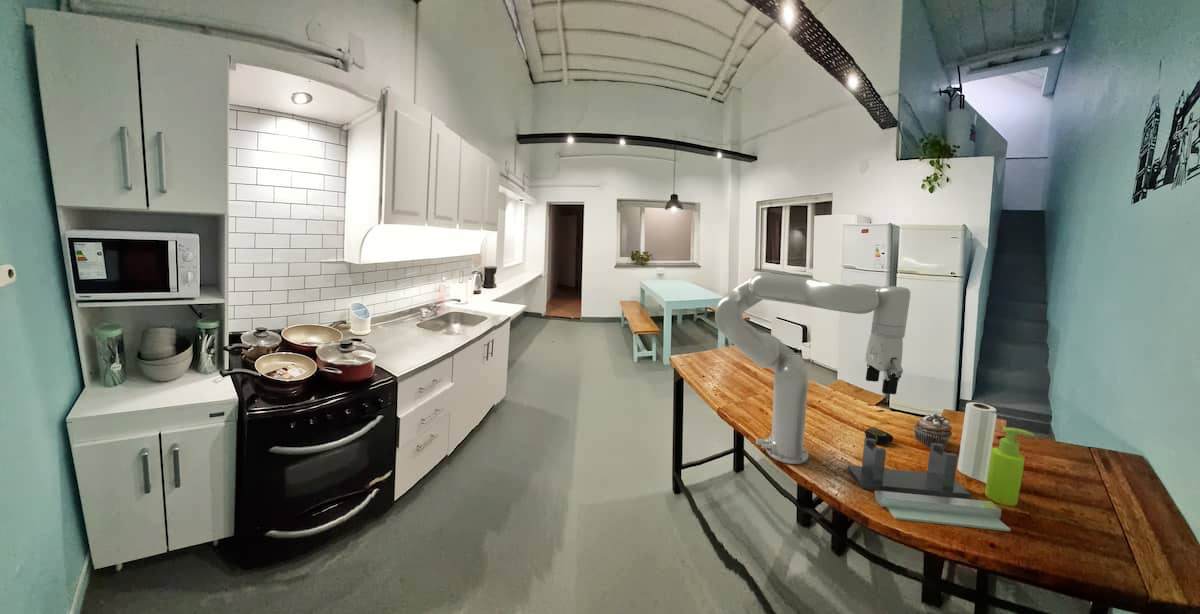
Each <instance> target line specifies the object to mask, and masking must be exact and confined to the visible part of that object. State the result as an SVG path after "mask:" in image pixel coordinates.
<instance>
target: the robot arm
mask: <svg viewBox="0 0 1200 614" xmlns="http://www.w3.org/2000/svg"><path fill="white" fill-rule="evenodd" d="M911 293H912V292H911V290H910V289H909V288H906V287H904V286H903V287H902V286H893V285H891V286H890V285H888V286H887V285H885V286H878V285H869V284H864V283H855V284H851V285H845V284H837V283H836V284H835V283H831V282H826V281H820V280H818V279H815V278H811V277H806V276H797V275H795V276H794V275H786V274H777V273H773V272H769V271H760V272H758V273H756V274H754V275H753V276H752V277H751V278H749V279H748V280H746V281H744V282H743V283H742V284H740V285H738V286H737V287H735V288H734V289H733V290H731V291H729V292H728V293H726V294H725V295H723V296H722V297H721V298H720V299H719V300H718V303H717V305H716V307H715V313H714V320H715V324H716V327H717V328H718V330H719V331H720V333H721V334H722V335H723V336H724V337H725V338H726V339H728V341H730V342H731V343H732V344H733V345H734V346H735V347H736V348H737V349H738V350H739V351H741V352H742V353H743V354H744V355H745V356H746V357H747V358H748V359H749V360H751V361H752V362H753V363H754V364H755V365H756V366H758V367H760V368H765V369H766V368H770V369H771V370H772V371H773V372H774V375H773V398H772V399H773V400H772V418H771V419H772V420H771V423H772V424H771V435H769V436H768V438H763V439H762V438H756V439H755V445H758V446H760V445H761V448H762V449H765V451H766V453H767V454H768V456H769V457H771V458H772V459H774V460H776V461H778V462H781V463H785V464H788V465H802V464H804V463H806V462H808V460H809V453H808V451H807V450H806V449H805V448H804V443H805V429H806V427H805V425H806V414H807V413H806V411H807V399H808V398H807V397H808V391H809V373H808V367H807V364H806V363H805V361H804V359H803V358H801V357H800V356H799V355H798V354H797V353H795V351H793V350H792V349H791V348H790V347H788V345H786V344H785V343H784V342H782V340H780V339H779V338H777V337H776V336H774V335H772V334H770V333H761V332H760V331H758V330H757V329H756V328H754V326H753V325H751V324H750V323H748V322H747V321H746V320H745V319H744V318H743V314H744V313H745V311H747V310H749V309H750V308H752V307H753V306H755V305H757V304H758V303H760V302H762V300H765V301H771V302H772V301H773V302H780V303H788V304H793V305H794V304H795V305H800V306H806V307H812V308H818V309H823V310H829V311H835V312H842V313H849V314H858V315H865V314H869V313H872V312H873V315H872V322H871V331H870V336H869V340H868V344H867V347H866V353H865V357H864V358H865V360H864V361H865V363H866V372H865V374H866V375H865V381H867V382H874V383H875V382H877V383H878V382H879V381H880V373H881V372H883V373H884V377H885V378H884V379H883V382H882V390H881V392H882V394H886V395H896V394H897V391H898V385H899V382H900V379H901V377H902V374H903V372H904V369H903V366H902V360H903V341H904V340H903V338H905V335H906V334H905V333H906V328H907V322H908V314H909V308H910V301H911ZM890 373H891V374H890Z"/></svg>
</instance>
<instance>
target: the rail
mask: <svg viewBox="0 0 1200 614" xmlns="http://www.w3.org/2000/svg"><path fill="white" fill-rule="evenodd" d="M875 491H876V493H874V494H875V495H874V500H875V501H876V502H877V504H878V505H879V506H880V507H883V508H886V507H891V508H900V509H910V510H920V511H930V512H939V513H949V514H959V515H968V516H978V517H988V518H997V519H999V520H1001V516H1002V510H1003V509H1002V508H1001V507H999V506H998V505H997V504H995V502H994V501H993V500H990V501H988V500H980V499H971V498H970V499H964V498H954V497H943V496H933V495H922V494H912V493H901V492H891V491H881V490H875Z"/></svg>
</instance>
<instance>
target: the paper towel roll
mask: <svg viewBox="0 0 1200 614" xmlns="http://www.w3.org/2000/svg"><path fill="white" fill-rule="evenodd" d="M997 416H998V414H997V408H995V407H994V406H992V405H988V404H986V403H981V402H975V401H974V402H971V401H970V402H966V405H965V411H964V419H963V425H962V433H961V439H960V447H959V453H958V459H957V466H956V469H957V470H958V472H959V473H961V474H962V475H965V476H966V477H968V478H971V479H974V480H977V481H979V482H981V483H984V484H986V483H987V476H988V470H989V463H990V457H991V450H992V448H993V443H994V439H995V431H996V424H997Z"/></svg>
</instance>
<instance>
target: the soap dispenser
mask: <svg viewBox="0 0 1200 614" xmlns="http://www.w3.org/2000/svg"><path fill="white" fill-rule="evenodd" d="M1002 430H1003V431H1004V432H1005V437H1001V438H1000V440H999V446H998V447H992V450H991V457H990V463H989V470H988V476H987V483H985V489H984V490H985V491H984V495H985V496H986V497H987V498H988V499H990V501H992V502H994V503H998V504H1000V505H1004V506H1008V507H1009V506H1011V507H1014V506H1017V505H1018V502H1019V496H1020V490H1021V483H1022V477H1023V471H1024V465H1025V460H1026V458H1025V456H1024V455H1023V454H1021V453H1019V449H1020V442H1019V441H1017V440H1016V437H1017V434H1019V435H1025V436H1029V437H1031V438H1035V437H1036V435H1035V434H1034V433H1033V432H1031V431H1028V430H1026V429H1021V428H1017V427H1006V426H1003V427H1002Z"/></svg>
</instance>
